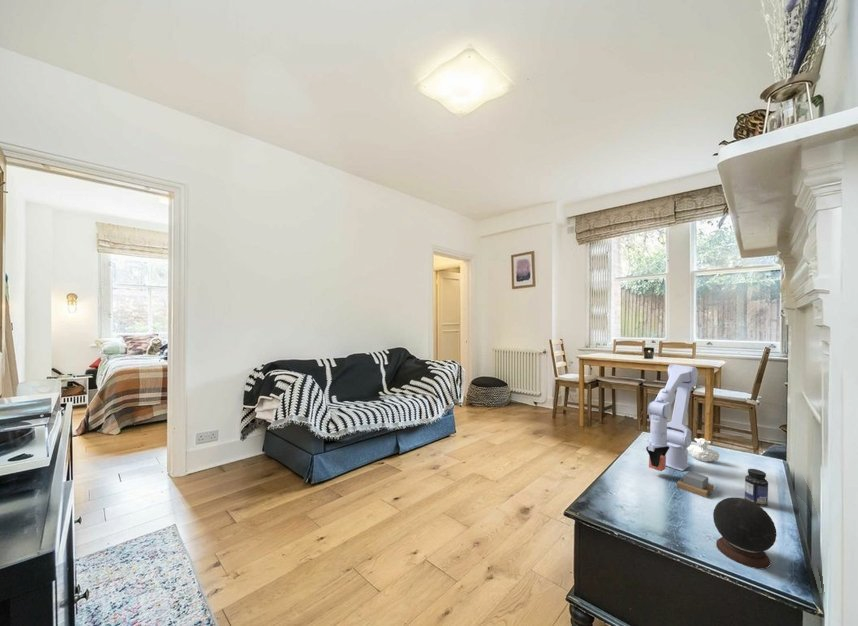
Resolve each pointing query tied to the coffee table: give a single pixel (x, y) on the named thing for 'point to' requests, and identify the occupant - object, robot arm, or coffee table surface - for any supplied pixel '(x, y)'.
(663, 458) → the stack block
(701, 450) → the white lumpy piece
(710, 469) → the coffee table surface
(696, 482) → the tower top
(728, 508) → the black and brown oval
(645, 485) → the coffee table surface
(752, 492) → the pill bottle
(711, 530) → the coffee table surface
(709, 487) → the tower base
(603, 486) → the coffee table surface
